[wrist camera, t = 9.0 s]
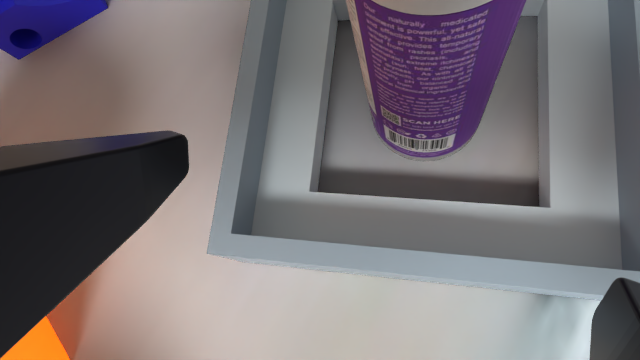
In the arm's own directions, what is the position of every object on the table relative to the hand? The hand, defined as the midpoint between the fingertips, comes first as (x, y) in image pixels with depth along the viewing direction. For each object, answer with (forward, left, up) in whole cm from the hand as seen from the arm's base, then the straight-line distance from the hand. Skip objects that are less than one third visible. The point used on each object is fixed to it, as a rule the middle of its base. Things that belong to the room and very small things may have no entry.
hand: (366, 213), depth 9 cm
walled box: (+1, +7, -10) cm, 12 cm away
